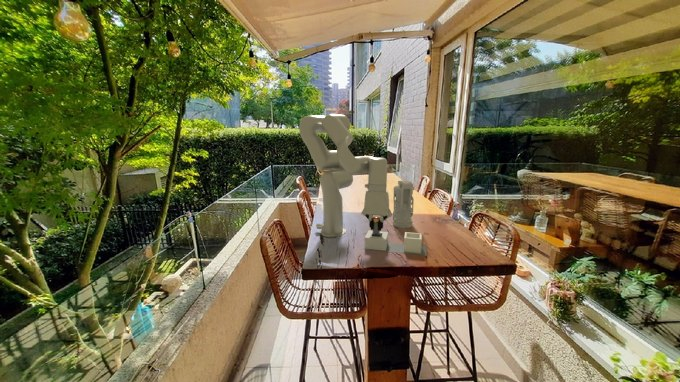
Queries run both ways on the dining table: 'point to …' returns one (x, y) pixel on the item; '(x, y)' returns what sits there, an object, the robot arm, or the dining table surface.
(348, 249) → the dining table surface
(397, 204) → the lantern
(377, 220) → the lock pin
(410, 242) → the dock board
